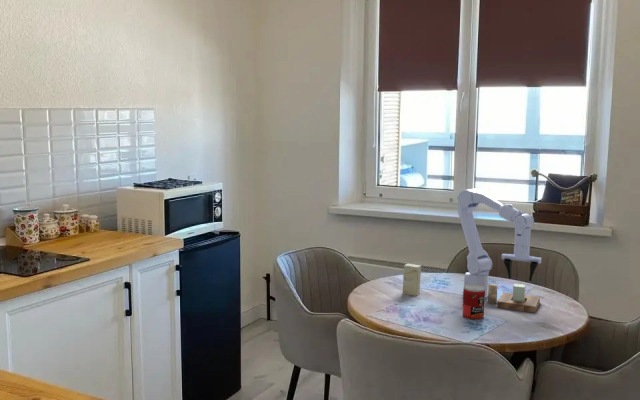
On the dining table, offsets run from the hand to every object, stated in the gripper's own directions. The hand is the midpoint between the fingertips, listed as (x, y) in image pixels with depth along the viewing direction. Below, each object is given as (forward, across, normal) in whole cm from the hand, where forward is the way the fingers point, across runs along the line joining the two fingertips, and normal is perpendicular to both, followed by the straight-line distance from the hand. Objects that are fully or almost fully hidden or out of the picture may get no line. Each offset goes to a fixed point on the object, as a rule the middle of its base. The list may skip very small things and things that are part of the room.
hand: (520, 279), depth 237 cm
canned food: (+11, -13, -22) cm, 28 cm away
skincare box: (+11, -42, -5) cm, 44 cm away
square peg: (+10, 0, 0) cm, 10 cm away
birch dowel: (+10, -10, -1) cm, 14 cm away
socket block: (+10, 0, 0) cm, 10 cm away
